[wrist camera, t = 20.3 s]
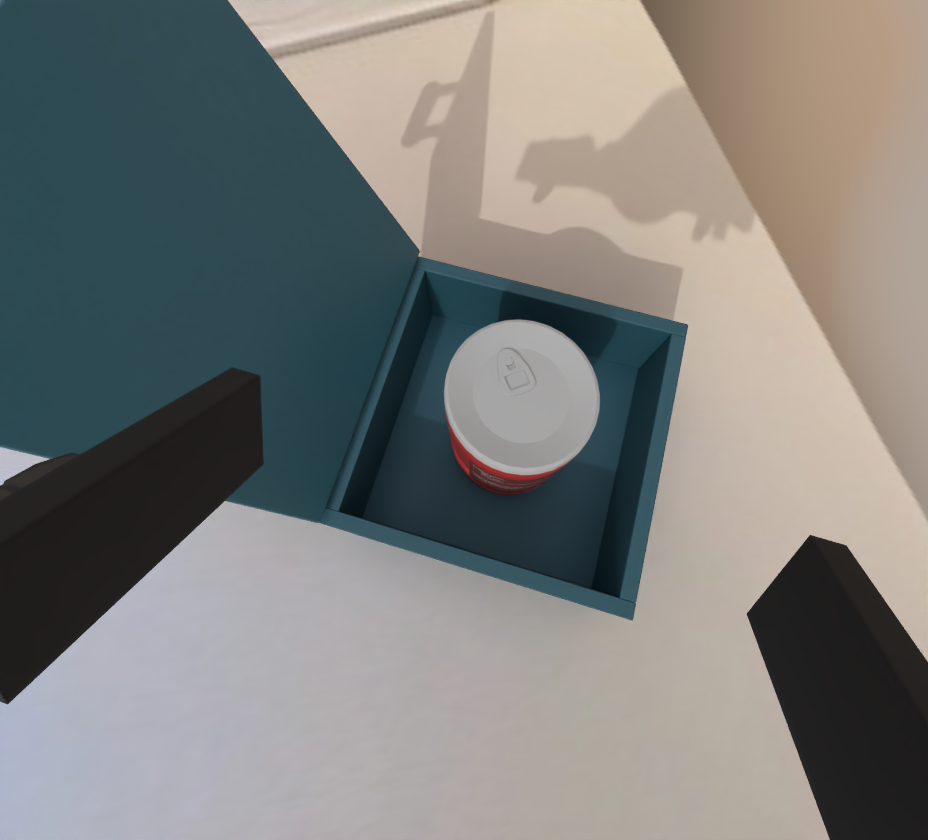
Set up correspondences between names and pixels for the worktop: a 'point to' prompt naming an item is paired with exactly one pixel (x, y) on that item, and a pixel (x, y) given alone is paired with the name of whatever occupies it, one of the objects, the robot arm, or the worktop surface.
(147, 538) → the robot arm
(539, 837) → the worktop surface
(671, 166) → the worktop surface
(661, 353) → the cool box
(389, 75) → the worktop surface
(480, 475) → the canned food
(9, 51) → the cooler lid
